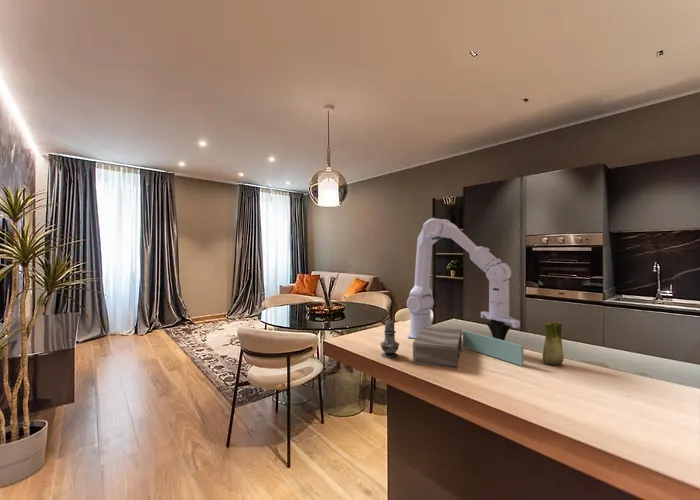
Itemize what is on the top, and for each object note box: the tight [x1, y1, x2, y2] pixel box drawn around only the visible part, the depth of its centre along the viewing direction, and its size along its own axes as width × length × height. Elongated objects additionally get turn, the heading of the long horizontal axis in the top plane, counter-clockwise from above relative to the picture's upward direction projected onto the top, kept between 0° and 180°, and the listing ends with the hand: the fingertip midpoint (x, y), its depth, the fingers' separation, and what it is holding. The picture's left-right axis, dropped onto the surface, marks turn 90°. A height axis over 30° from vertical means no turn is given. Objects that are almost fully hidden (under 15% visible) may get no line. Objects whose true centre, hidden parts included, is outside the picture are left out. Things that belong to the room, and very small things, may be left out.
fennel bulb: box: [542, 321, 565, 366], centre depth 92 cm, size 6×5×12 cm
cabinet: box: [412, 326, 463, 370], centre depth 101 cm, size 20×12×6 cm, turn 157°
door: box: [462, 329, 525, 367], centre depth 99 cm, size 20×2×5 cm, turn 32°
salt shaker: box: [379, 316, 400, 360], centre depth 100 cm, size 6×6×12 cm
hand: (498, 345), depth 102 cm, fingers closed
